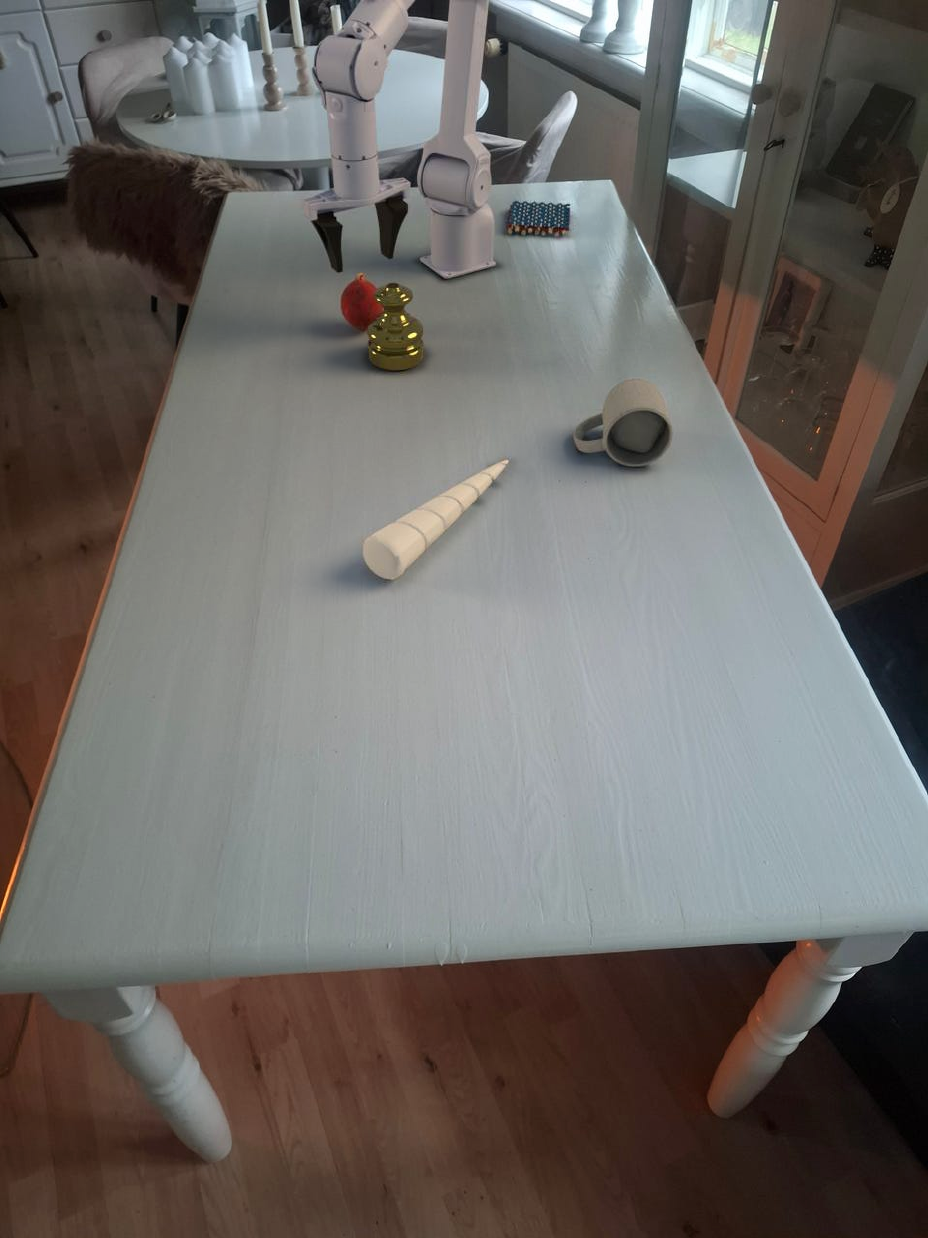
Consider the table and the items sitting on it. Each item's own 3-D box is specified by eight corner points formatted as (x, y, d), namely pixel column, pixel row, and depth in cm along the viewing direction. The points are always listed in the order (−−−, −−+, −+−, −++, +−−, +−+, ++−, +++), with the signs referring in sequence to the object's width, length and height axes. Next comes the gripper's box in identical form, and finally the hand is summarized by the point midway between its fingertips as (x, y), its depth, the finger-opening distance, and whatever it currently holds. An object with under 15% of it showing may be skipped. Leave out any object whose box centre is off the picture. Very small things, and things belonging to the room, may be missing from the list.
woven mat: (509, 210, 151) (509, 198, 150) (569, 213, 151) (571, 201, 149) (505, 234, 144) (505, 222, 143) (568, 238, 143) (570, 225, 142)
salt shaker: (410, 339, 119) (408, 268, 112) (432, 365, 115) (431, 292, 107) (360, 350, 117) (355, 278, 110) (380, 376, 112) (376, 303, 105)
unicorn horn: (535, 476, 98) (538, 440, 95) (396, 590, 85) (394, 553, 82) (501, 460, 100) (503, 425, 97) (361, 569, 87) (357, 533, 84)
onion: (377, 342, 119) (374, 285, 113) (337, 337, 119) (332, 281, 114) (388, 322, 123) (385, 267, 117) (349, 317, 123) (345, 262, 118)
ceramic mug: (657, 428, 105) (668, 371, 100) (666, 468, 99) (678, 410, 94) (570, 426, 105) (576, 370, 100) (574, 467, 100) (581, 409, 94)
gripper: (389, 133, 111) (394, 239, 120) (286, 153, 105) (300, 263, 115) (417, 149, 106) (420, 258, 116) (311, 172, 101) (324, 284, 111)
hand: (362, 262), depth 115 cm, fingers open, 7 cm apart
